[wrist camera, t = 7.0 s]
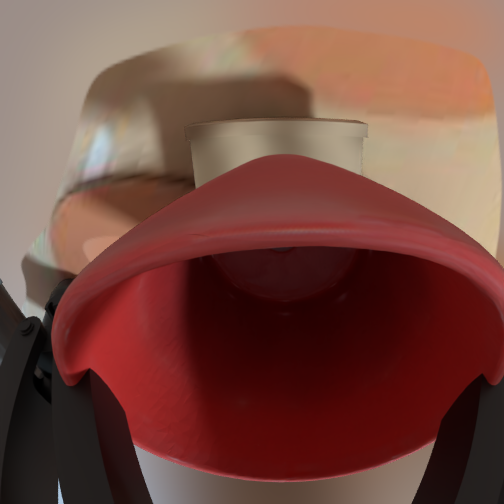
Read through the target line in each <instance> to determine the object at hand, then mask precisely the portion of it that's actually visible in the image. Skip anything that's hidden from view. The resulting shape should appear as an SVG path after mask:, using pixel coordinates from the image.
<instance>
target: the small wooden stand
mask: <svg viewBox="0 0 504 504" xmlns="http://www.w3.org/2000/svg"><path fill="white" fill-rule="evenodd" d="M185 136H186V140H190V145H191V154H192V162H193V170H194V178H195V186H196V189H197V188H198V187H200V186H202V185H203V184H205V183H207V182H209V181H210V180H212V179H214V178H216V177H218V176H220V175H222V174H224V173H226V172H228V171H230V170H232V169H234V168H236V167H238V166H240V165H242V164H244V163H246V162H249V161H251V160H254V159H257V158H260V157H263V156H268V155H275V154H295V155H301V156H306V157H310V158H313V159H316V160H320V161H323V162H326V163H330V164H333V165H336V166H339V167H341V168H344V169H346V170H349V171H351V172H354V173H356V174H359V175H361V169H362V154H363V137H365V138H368V124H366V123H363V122H360V121H356V120H343V119H325V118H253V119H234V120H221V121H209V122H200V123H193V124H190V125H188V126H186V127H185Z"/></svg>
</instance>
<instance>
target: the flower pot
mask: <svg viewBox="0 0 504 504" xmlns="http://www.w3.org/2000/svg"><path fill="white" fill-rule="evenodd" d="M51 339H52V349H53V355H54V359H55V362H56V365H57V368H58V370H59V373H60V375H61V377H62V379H63V381H64V382H65V384H66V385H68V386H73V385H75V384H77V383H78V382H79V381H80V379H81V378H82V377H83V376H84V374H85V373H86V372H87V370H88V369H89V368H91V369H92V370H93V371H94V372H96V373H97V374H98V375H99V376H100V377H101V378H102V380H103V381H104V382H105V383H106V384H107V385H108V387H109V388H110V389H111V391H112V392H113V394H114V395H115V397H116V398H117V400H118V401H119V403H120V404H121V406H122V407H123V409H124V411H125V413H126V417H127V421H128V425H129V429H130V433H131V437H132V441H133V444H134V445H136V446H138V447H140V448H142V449H143V450H146V451H148V452H150V453H152V454H154V455H156V456H158V457H161V458H163V459H166V460H168V461H171V462H174V463H177V464H179V465H183V466H186V467H189V468H192V469H196V470H199V471H203V472H207V473H211V474H215V475H220V476H225V477H231V478H237V479H243V480H252V481H267V482H298V481H312V480H320V479H328V478H335V477H341V476H345V475H351V474H355V473H359V472H363V471H366V470H370V469H374V468H377V467H379V466H382V465H385V464H388V463H391V462H393V461H396V460H398V459H401V458H403V457H405V456H408V455H410V454H412V453H414V452H416V451H418V450H420V449H422V448H424V447H426V446H428V445H430V444H431V443H433V442H435V441H436V437H437V434H438V430H439V427H440V423H441V420H442V418H443V417H444V415H445V414H446V413H447V411H448V410H449V408H450V407H451V406H452V404H453V403H454V402H455V400H456V399H457V398H458V396H459V395H460V394H461V393H462V392H463V391H464V389H465V388H466V387H467V386H468V385H469V384H470V383H471V382H472V381H473V380H474V379H476V378H477V377H478V376H479V375H480V374H481V373H483V375H484V376H485V378H486V380H487V381H488V383H490V384H491V385H497V384H498V383H499V382H500V381H501V379H502V378H503V376H504V269H503V267H502V266H501V265H500V264H499V262H498V261H497V260H496V259H495V258H494V257H493V256H492V255H491V254H490V253H489V252H488V251H487V250H486V249H485V248H484V247H482V246H481V245H480V244H479V243H478V242H477V241H475V240H474V239H473V238H471V237H470V236H469V235H467V234H466V233H465V232H463V231H462V230H461V229H459V228H458V227H456V226H455V225H453V224H452V223H450V222H449V221H447V220H445V219H444V218H442V217H440V216H439V215H437V214H436V213H434V212H432V211H430V210H429V209H427V208H425V207H424V206H422V205H420V204H418V203H416V202H415V201H413V200H411V199H409V198H407V197H405V196H403V195H401V194H399V193H397V192H395V191H393V190H391V189H389V188H387V187H385V186H383V185H381V184H378V183H376V182H374V181H372V180H370V179H368V178H365V177H363V176H361V175H359V174H356V173H354V172H351V171H349V170H346V169H344V168H341V167H339V166H336V165H333V164H330V163H326V162H323V161H320V160H316V159H313V158H310V157H306V156H301V155H295V154H275V155H268V156H263V157H260V158H257V159H254V160H251V161H249V162H246V163H244V164H242V165H240V166H238V167H236V168H234V169H232V170H230V171H228V172H226V173H224V174H222V175H220V176H218V177H216V178H214V179H212V180H210V181H209V182H207V183H205V184H203V185H202V186H200V187H198V188H197V189H195V190H193V191H191V192H189V193H188V194H186V195H184V196H182V197H180V198H179V199H177V200H175V201H174V202H172V203H170V204H169V205H167V206H166V207H164V208H162V209H161V210H159V211H158V212H156V213H155V214H153V215H152V216H150V217H149V218H147V219H146V220H144V221H143V222H141V223H140V224H139V225H137V226H136V227H134V228H133V229H131V230H130V231H129V232H127V233H126V234H125V235H123V236H122V237H121V238H119V239H118V240H117V241H116V242H114V243H113V244H112V245H110V246H109V247H108V248H107V249H105V250H104V251H103V252H102V253H101V254H100V255H99V256H98V257H96V258H95V259H94V260H93V261H92V262H91V263H89V264H88V265H87V266H86V267H85V268H84V269H83V270H82V271H81V272H80V273H79V274H78V276H77V277H76V278H75V279H74V280H73V281H72V283H71V284H70V285H69V286H68V288H67V289H66V291H65V293H64V294H63V296H62V298H61V300H60V302H59V304H58V306H57V309H56V311H55V315H54V319H53V324H52V331H51Z"/></svg>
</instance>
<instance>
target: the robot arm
mask: <svg viewBox="0 0 504 504" xmlns="http://www.w3.org/2000/svg"><path fill="white" fill-rule="evenodd" d="M73 280H74V279H66V280H64V281H62V282H60V283H59V284H58V286H57V287H56V288H55V289H54V291H53V292H52V294H51V296H50V299H49V301H48V302H47V304H46V306H45V310H46V312H45V315H44V319H43V322H41V320H40V319H39V318H38V317H35V316H32V317H28V318H26V317H25V316H24V314H23V313H22V312H21V310H20V309H19V308H18V306H17V305H16V304H15V302H14V301H13V299H12V298H11V296H10V295H9V294H8V292H7V291H6V289H5V287H4V286H3V285H2V280H1V279H0V504H58V478H59V483H60V489H61V494H62V498H63V503H64V504H153V502H152V499H151V497H150V494H149V491H148V488H147V486H146V483H145V480H144V477H143V474H142V471H141V468H140V465H139V462H138V458H137V455H136V452H135V448H134V445H133V441H132V437H131V433H130V429H129V425H128V421H127V417H126V413H125V411H124V409H123V407H122V406H121V404H120V403H119V401H118V400H117V398H116V397H115V395H114V394H113V392H112V391H111V389H110V388H109V387H108V385H107V384H106V383H105V382H104V381H103V380H102V378H101V377H100V376H99V375H98V374H97V373H96V372H94V371H93V370H92V369H91V368H89V369H88V370H87V372H86V373H85V374H84V376H83V377H82V378H81V379H80V381H79V382H78V383H77V384H75V385H73V386H68V385H66V384H65V382H64V381H63V379H62V377H61V375H60V373H59V370H58V368H57V365H56V362H55V359H54V355H53V349H52V339H51V331H52V324H53V319H54V315H55V311H56V309H57V306H58V304H59V302H60V300H61V298H62V296H63V294H64V293H65V291H66V289H67V288H68V286H69V285H70V284H71V283H72V281H73ZM412 504H504V376H503V378H502V379H501V381H500V382H499V383H498V384H497V385H491V384H490V383H488V381H487V380H486V378H485V376H484V375H483V373H481V374H480V375H479V376H478V377H477V378H476V379H474V380H473V381H472V382H471V383H470V384H469V385H468V386H467V387H466V388H465V389H464V391H463V392H462V393H461V394H460V395H459V396H458V398H457V399H456V400H455V402H454V403H453V404H452V406H451V407H450V408H449V410H448V411H447V413H446V414H445V415H444V417H443V418H442V420H441V423H440V427H439V430H438V434H437V437H436V441H435V444H434V448H433V450H432V453H431V456H430V459H429V462H428V465H427V468H426V470H425V473H424V476H423V478H422V481H421V483H420V486H419V488H418V490H417V493H416V495H415V497H414V499H413V501H412Z"/></svg>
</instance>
